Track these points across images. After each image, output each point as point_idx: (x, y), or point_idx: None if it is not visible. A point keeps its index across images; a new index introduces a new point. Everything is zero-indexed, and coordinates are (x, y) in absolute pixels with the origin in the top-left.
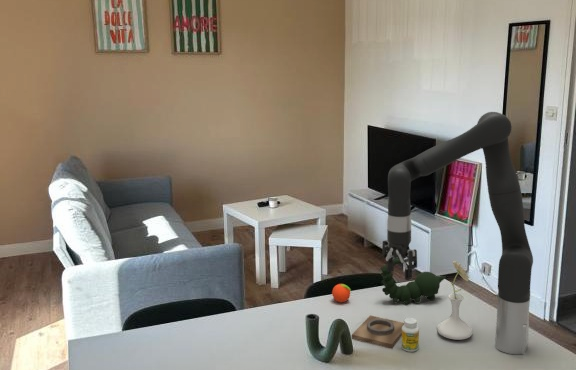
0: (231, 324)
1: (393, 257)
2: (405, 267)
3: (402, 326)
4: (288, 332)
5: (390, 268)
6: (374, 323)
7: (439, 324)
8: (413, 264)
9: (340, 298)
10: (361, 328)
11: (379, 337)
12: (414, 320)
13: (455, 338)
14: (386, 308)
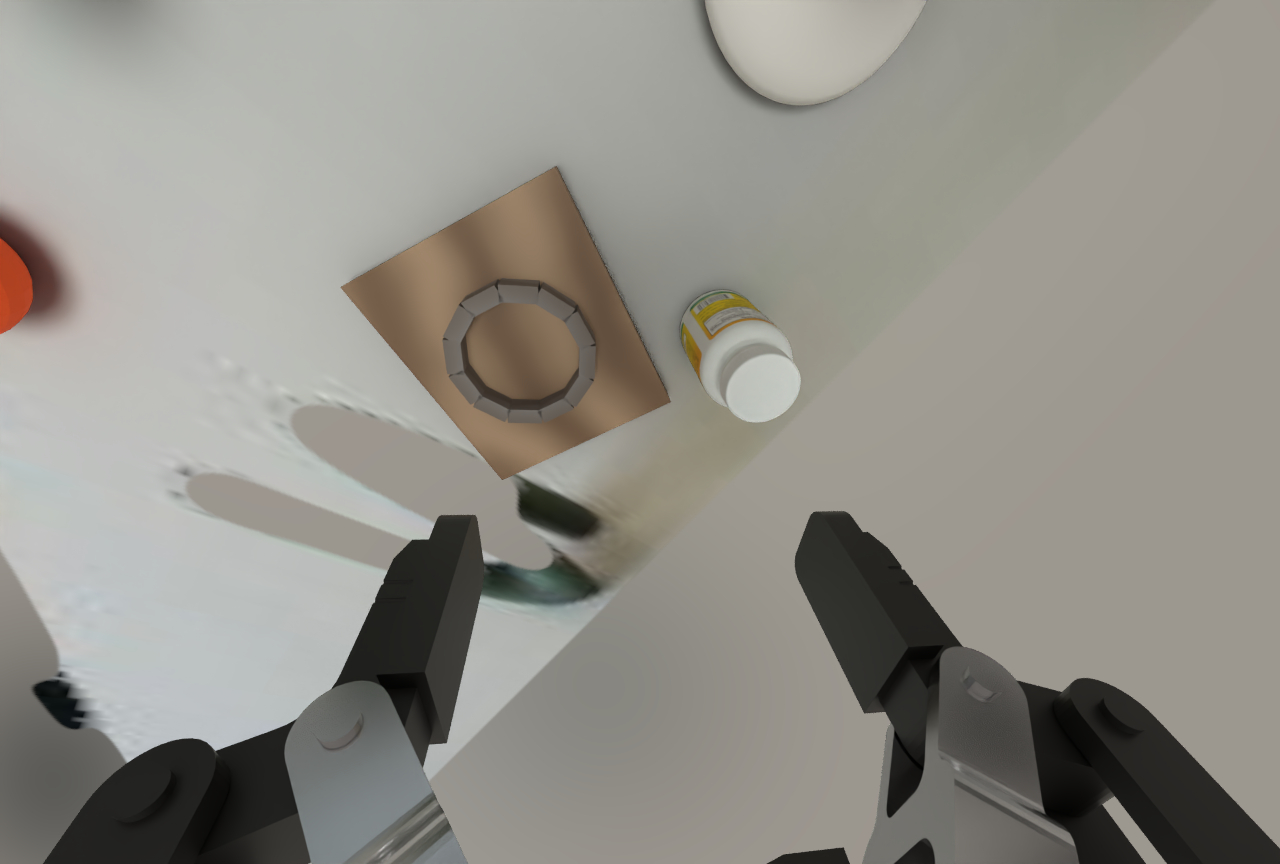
0: (208, 701)
1: (422, 784)
2: (909, 759)
3: (710, 394)
4: (344, 605)
5: (471, 598)
6: (465, 348)
7: (735, 20)
8: (1110, 788)
9: (19, 315)
10: (471, 418)
11: (591, 406)
12: (781, 371)
13: (875, 71)
14: (209, 43)
